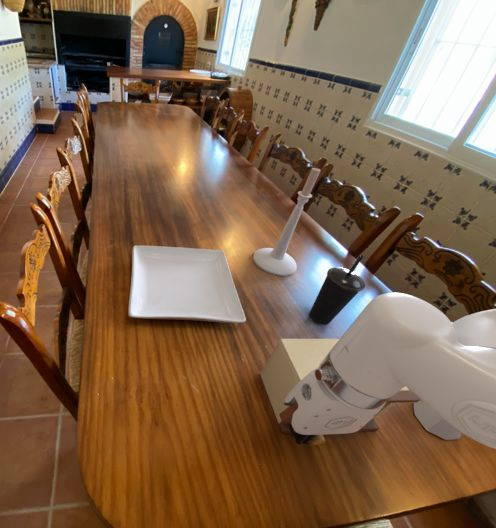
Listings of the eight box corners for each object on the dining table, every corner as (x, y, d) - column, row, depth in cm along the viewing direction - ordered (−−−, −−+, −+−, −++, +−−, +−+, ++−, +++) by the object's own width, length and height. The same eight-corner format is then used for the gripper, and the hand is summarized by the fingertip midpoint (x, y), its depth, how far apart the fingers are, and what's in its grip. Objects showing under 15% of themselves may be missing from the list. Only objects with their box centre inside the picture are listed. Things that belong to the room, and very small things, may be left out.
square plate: (132, 254, 90) (132, 243, 87) (221, 259, 91) (224, 249, 88) (127, 325, 69) (128, 314, 66) (243, 331, 70) (248, 320, 67)
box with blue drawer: (376, 431, 54) (419, 400, 46) (282, 433, 53) (311, 402, 45) (341, 372, 63) (372, 338, 55) (259, 373, 62) (280, 338, 54)
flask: (422, 434, 54) (463, 410, 48) (405, 397, 60) (440, 370, 53) (466, 446, 53) (515, 422, 47) (445, 407, 59) (486, 381, 52)
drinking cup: (311, 329, 72) (354, 267, 59) (298, 306, 77) (334, 244, 65) (341, 330, 72) (390, 268, 59) (326, 306, 78) (367, 245, 65)
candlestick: (289, 252, 96) (333, 160, 77) (301, 278, 86) (355, 181, 67) (249, 247, 97) (283, 155, 77) (257, 273, 87) (298, 175, 68)
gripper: (313, 407, 34) (262, 461, 46) (432, 404, 35) (352, 458, 47) (286, 351, 40) (246, 412, 52) (389, 350, 41) (327, 410, 53)
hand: (297, 433), depth 49 cm, fingers closed
